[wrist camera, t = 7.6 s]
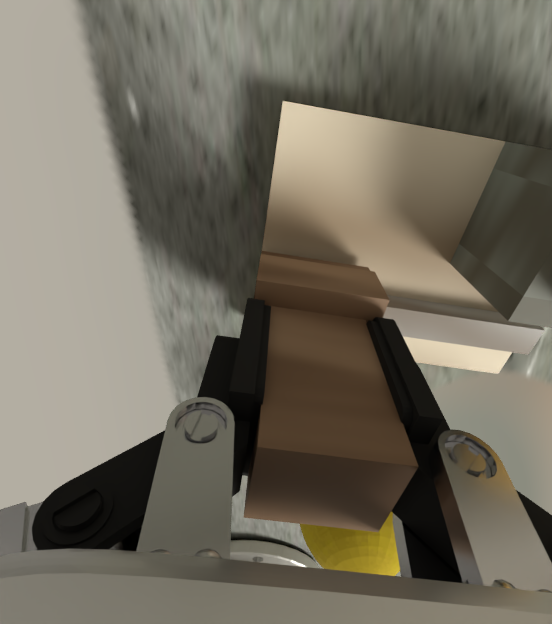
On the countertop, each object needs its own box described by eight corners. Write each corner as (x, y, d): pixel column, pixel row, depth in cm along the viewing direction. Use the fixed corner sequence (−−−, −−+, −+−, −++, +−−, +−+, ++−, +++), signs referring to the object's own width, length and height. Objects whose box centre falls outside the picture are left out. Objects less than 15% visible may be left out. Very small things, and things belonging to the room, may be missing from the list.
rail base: (482, 353, 17) (556, 448, 12) (252, 320, 16) (238, 407, 12) (599, 158, 12) (791, 193, 8) (283, 101, 12) (280, 100, 7)
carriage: (342, 347, 15) (388, 551, 8) (249, 334, 14) (217, 533, 8) (370, 262, 13) (463, 442, 6) (262, 245, 12) (233, 412, 6)
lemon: (274, 419, 20) (268, 584, 13) (357, 376, 18) (401, 543, 11) (326, 466, 22) (344, 629, 15) (405, 433, 20) (466, 602, 13)
